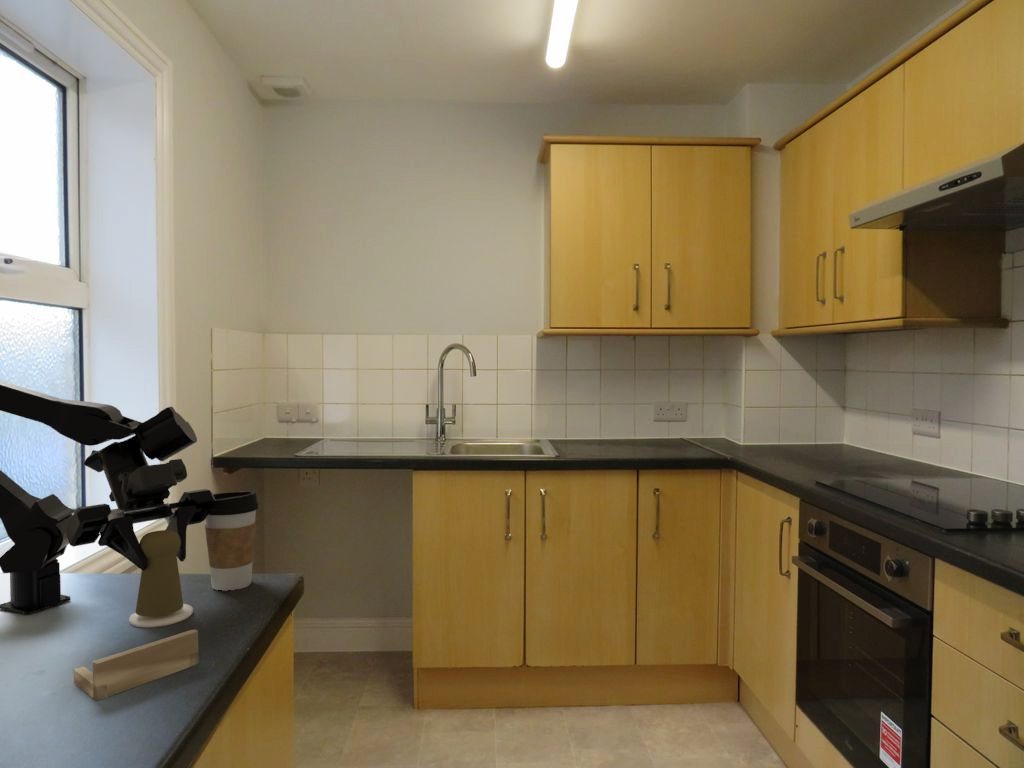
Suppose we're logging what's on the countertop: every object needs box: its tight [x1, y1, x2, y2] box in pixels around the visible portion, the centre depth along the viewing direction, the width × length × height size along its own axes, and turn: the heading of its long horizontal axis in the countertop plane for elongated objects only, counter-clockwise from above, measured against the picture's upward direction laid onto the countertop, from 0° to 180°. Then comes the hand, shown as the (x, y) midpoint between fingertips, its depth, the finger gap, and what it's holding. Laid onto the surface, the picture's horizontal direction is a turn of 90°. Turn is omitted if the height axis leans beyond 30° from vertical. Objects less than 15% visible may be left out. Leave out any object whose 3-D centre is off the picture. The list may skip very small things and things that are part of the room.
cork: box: [135, 529, 184, 617], centre depth 94 cm, size 6×6×11 cm
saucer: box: [128, 603, 194, 628], centre depth 94 cm, size 8×8×1 cm
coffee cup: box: [204, 490, 259, 592], centre depth 107 cm, size 8×8×15 cm
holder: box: [73, 628, 199, 702], centre depth 77 cm, size 6×11×4 cm, turn 142°
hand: (164, 564), depth 93 cm, fingers closed on cork, 5 cm apart
